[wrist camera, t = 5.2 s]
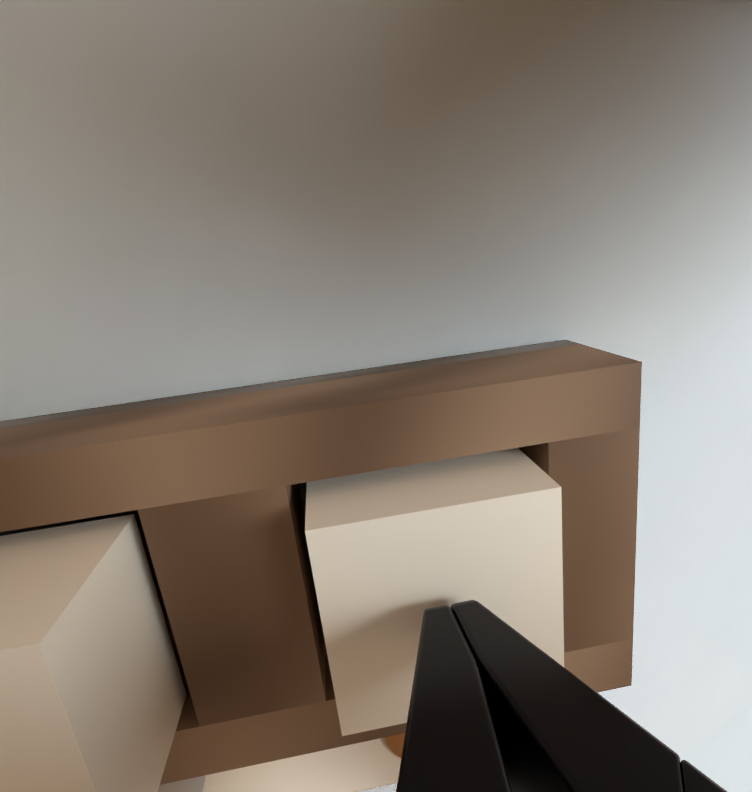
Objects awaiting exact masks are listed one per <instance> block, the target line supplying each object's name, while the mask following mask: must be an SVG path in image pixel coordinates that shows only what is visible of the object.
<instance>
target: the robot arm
mask: <svg viewBox="0 0 752 792" xmlns="http://www.w3.org/2000/svg"><path fill="white" fill-rule="evenodd" d="M396 792H727V791H726V790H724V789H723V788H722V787H720V786H719V785H718V784H716V783H715V782H714V781H712V780H711V779H710V778H708V777H707V776H706V775H704V774H703V773H702V772H701V771H699V770H698V769H697V768H695V767H694V766H693V765H691V764H690V763H689V762H687V761H686V760H682V761H681V763H680V757H679V755H678V754H677V753H675V752H674V751H673V750H671V749H670V748H669V747H667V746H666V745H665V744H664V743H662V742H661V741H660V740H658V739H657V738H656V737H654V736H653V735H652V734H651V733H649V732H648V731H647V730H645V729H644V728H643V727H641V726H640V725H639V724H637V723H636V722H635V721H634V720H632V719H631V718H630V717H628V716H627V715H626V714H624V713H623V712H622V711H620V710H619V709H618V708H617V707H615V706H614V705H613V704H611V703H610V702H609V701H607V700H606V699H605V698H603V697H602V696H601V695H600V694H598V693H597V692H596V691H594V690H593V689H592V688H590V687H589V686H588V685H586V684H585V683H584V682H583V681H581V680H580V679H579V678H577V677H576V676H575V675H573V674H572V673H571V672H570V671H568V670H567V669H566V668H564V667H563V666H562V665H560V664H559V663H558V662H556V661H555V660H554V659H553V658H551V657H550V656H549V655H547V654H546V653H545V652H543V651H542V650H541V649H539V648H538V647H537V646H536V645H534V644H533V643H532V642H530V641H529V640H528V639H526V638H525V637H524V636H522V635H521V634H520V633H519V632H517V631H516V630H515V629H513V628H512V627H511V626H509V625H508V624H507V623H505V622H504V621H503V620H502V619H500V618H499V617H498V616H496V615H495V614H494V613H492V612H491V611H490V610H489V609H487V608H486V607H485V606H483V605H482V604H481V603H479V602H478V601H476V600H468V601H463V602H458V603H454V604H452V605H451V608H450V607H449V606H448V605H442V606H437V607H432V608H427V609H426V610H425V611H424V613H423V620H422V626H421V633H420V639H419V646H418V652H417V659H416V665H415V672H414V679H413V685H412V692H411V698H410V705H409V711H408V718H407V724H406V731H405V738H404V744H403V751H402V757H401V764H400V770H399V777H398V783H397V790H396Z"/></svg>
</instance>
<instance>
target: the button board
mask: <svg viewBox="0 0 752 792" xmlns="http://www.w3.org/2000/svg"><path fill="white" fill-rule="evenodd" d="M641 365H642V362H639V361H636V360H633V359H629V358H626V357H622V356H619V355H616V354H612V353H609V352H605V351H602V350H599V349H595V348H592V347H588V346H585V345H582V344H578V343H575V342H571V341H568V340H561V341H554V342H547V343H540V344H534V345H527V346H520V347H513V348H506V349H499V350H492V351H485V352H478V353H471V354H464V355H458V356H451V357H444V358H437V359H430V360H423V361H416V362H409V363H402V364H395V365H388V366H382V367H375V368H368V369H361V370H354V371H347V372H340V373H333V374H326V375H319V376H312V377H306V378H299V379H292V380H285V381H278V382H271V383H264V384H257V385H250V386H243V387H237V388H230V389H223V390H216V391H209V392H202V393H195V394H188V395H181V396H174V397H167V398H161V399H154V400H147V401H140V402H133V403H126V404H119V405H112V406H105V407H98V408H91V409H85V410H78V411H71V412H64V413H57V414H50V415H43V416H36V417H29V418H22V419H16V420H9V421H2V422H0V536H4V535H10V534H16V533H22V532H28V531H34V530H40V529H46V528H53V527H59V526H65V525H71V524H77V523H83V522H89V521H95V520H101V519H107V518H113V517H120V516H126V515H132V514H134V515H135V518H136V522H137V525H138V529H139V532H140V536H141V539H142V542H143V546H144V549H145V553H146V556H147V560H148V563H149V567H150V570H151V574H152V577H153V580H154V584H155V587H156V591H157V594H158V598H159V601H160V605H161V608H162V612H163V615H164V619H165V622H166V625H167V629H168V632H169V636H170V639H171V643H172V646H173V650H174V653H175V657H176V660H177V664H178V667H179V670H180V674H181V677H182V681H183V684H184V688H185V691H186V698H185V702H184V705H183V708H182V712H181V715H180V718H179V722H178V725H177V728H176V732H175V735H174V738H173V742H172V745H171V748H170V752H169V755H168V758H167V762H166V765H165V768H164V772H163V775H162V779H161V782H160V785H159V789H158V792H357V791H362V790H366V789H371V788H375V787H380V786H384V785H389V784H393V783H398V777H399V770H400V764H401V757H402V751H403V744H404V738H405V731H406V724H407V723H403V724H398V725H394V726H389V727H384V728H379V729H375V730H370V731H365V732H360V733H355V734H351V735H346V736H342V733H341V727H340V722H339V716H338V711H337V705H336V700H335V694H334V689H333V683H332V678H331V672H330V667H329V661H328V656H327V650H326V645H325V639H324V634H323V628H322V623H321V617H320V612H319V606H318V601H317V595H316V590H315V584H314V579H313V573H312V568H311V562H310V557H309V551H308V546H307V540H306V535H305V513H306V487H307V482H311V481H317V480H323V479H329V478H335V477H341V476H347V475H353V474H359V473H366V472H372V471H378V470H384V469H390V468H396V467H402V466H408V465H415V464H421V463H427V462H433V461H439V460H445V459H451V458H457V457H464V456H470V455H476V454H482V453H488V452H494V451H500V450H506V449H512V448H518V449H520V450H521V451H522V452H523V453H524V454H525V455H526V456H527V457H528V458H530V459H531V460H532V461H533V462H534V463H535V464H536V465H537V466H539V467H540V468H541V469H542V470H543V471H544V472H545V473H546V474H547V475H549V476H550V477H551V478H552V479H553V480H554V481H555V482H556V483H558V484H559V485H560V486H561V494H562V557H563V620H564V668H566V669H567V670H568V671H570V672H571V673H572V674H573V675H575V676H576V677H577V678H579V679H580V680H581V681H583V682H584V683H585V684H586V685H588V686H589V687H590V688H592V689H593V690H594V691H596V692H602V691H606V690H611V689H616V688H620V687H625V686H630V685H631V678H632V647H633V616H634V584H635V553H636V522H637V490H638V459H639V428H640V397H641Z"/></svg>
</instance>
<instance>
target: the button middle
mask: <svg viewBox="0 0 752 792" xmlns="http://www.w3.org/2000/svg"><path fill="white" fill-rule="evenodd" d="M185 698H186V691H185V688H184V684H183V681H182V677H181V674H180V670H179V667H178V664H177V660H176V657H175V653H174V650H173V646H172V643H171V639H170V636H169V632H168V629H167V625H166V622H165V619H164V615H163V612H162V608H161V605H160V601H159V598H158V594H157V591H156V587H155V584H154V580H153V577H152V574H151V570H150V567H149V563H148V560H147V556H146V553H145V549H144V546H143V542H142V539H141V536H140V532H139V529H138V525H137V522H136V518H135V515H134V514H132V515H126V516H120V517H113V518H107V519H101V520H95V521H89V522H83V523H77V524H71V525H65V526H59V527H53V528H46V529H40V530H34V531H28V532H22V533H16V534H10V535H4V536H0V792H158V789H159V785H160V782H161V779H162V775H163V772H164V768H165V765H166V762H167V758H168V755H169V752H170V748H171V745H172V742H173V738H174V735H175V732H176V728H177V725H178V722H179V718H180V715H181V712H182V708H183V705H184V702H185Z"/></svg>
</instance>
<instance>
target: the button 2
mask: <svg viewBox="0 0 752 792" xmlns="http://www.w3.org/2000/svg"><path fill="white" fill-rule="evenodd" d="M305 535H306V540H307V546H308V551H309V557H310V562H311V568H312V573H313V579H314V584H315V590H316V595H317V601H318V606H319V612H320V617H321V623H322V628H323V634H324V639H325V645H326V650H327V656H328V661H329V667H330V672H331V678H332V683H333V689H334V694H335V700H336V705H337V711H338V716H339V722H340V727H341V733H342V736H346V735H351V734H355V733H360V732H365V731H370V730H375V729H379V728H384V727H389V726H394V725H398V724H403V723H407V718H408V711H409V705H410V698H411V692H412V685H413V679H414V672H415V665H416V659H417V652H418V646H419V639H420V633H421V626H422V620H423V613H424V611H425V610H426V609H427V608H432V607H437V606H442V605H448V606H449V607H450V608H451V605H452V604H454V603H458V602H463V601H468V600H476V601H478V602H479V603H481V604H482V605H483V606H485V607H486V608H487V609H489V610H490V611H491V612H492V613H494V614H495V615H496V616H498V617H499V618H500V619H502V620H503V621H504V622H505V623H507V624H508V625H509V626H511V627H512V628H513V629H515V630H516V631H517V632H519V633H520V634H521V635H522V636H524V637H525V638H526V639H528V640H529V641H530V642H532V643H533V644H534V645H536V646H537V647H538V648H539V649H541V650H542V651H543V652H545V653H546V654H547V655H549V656H550V657H551V658H553V659H554V660H555V661H556V662H558V663H559V664H560V665H562V666H563V667H564V620H563V557H562V494H561V486H560V485H559V484H558V483H556V482H555V481H554V480H553V479H552V478H551V477H550V476H549V475H547V474H546V473H545V472H544V471H543V470H542V469H541V468H540V467H539V466H537V465H536V464H535V463H534V462H533V461H532V460H531V459H530V458H528V457H527V456H526V455H525V454H524V453H523V452H522V451H521V450H520V449H518V448H512V449H506V450H500V451H494V452H488V453H482V454H476V455H470V456H464V457H457V458H451V459H445V460H439V461H433V462H427V463H421V464H415V465H408V466H402V467H396V468H390V469H384V470H378V471H372V472H366V473H359V474H353V475H347V476H341V477H335V478H329V479H323V480H317V481H311V482H307V487H306V513H305Z"/></svg>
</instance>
